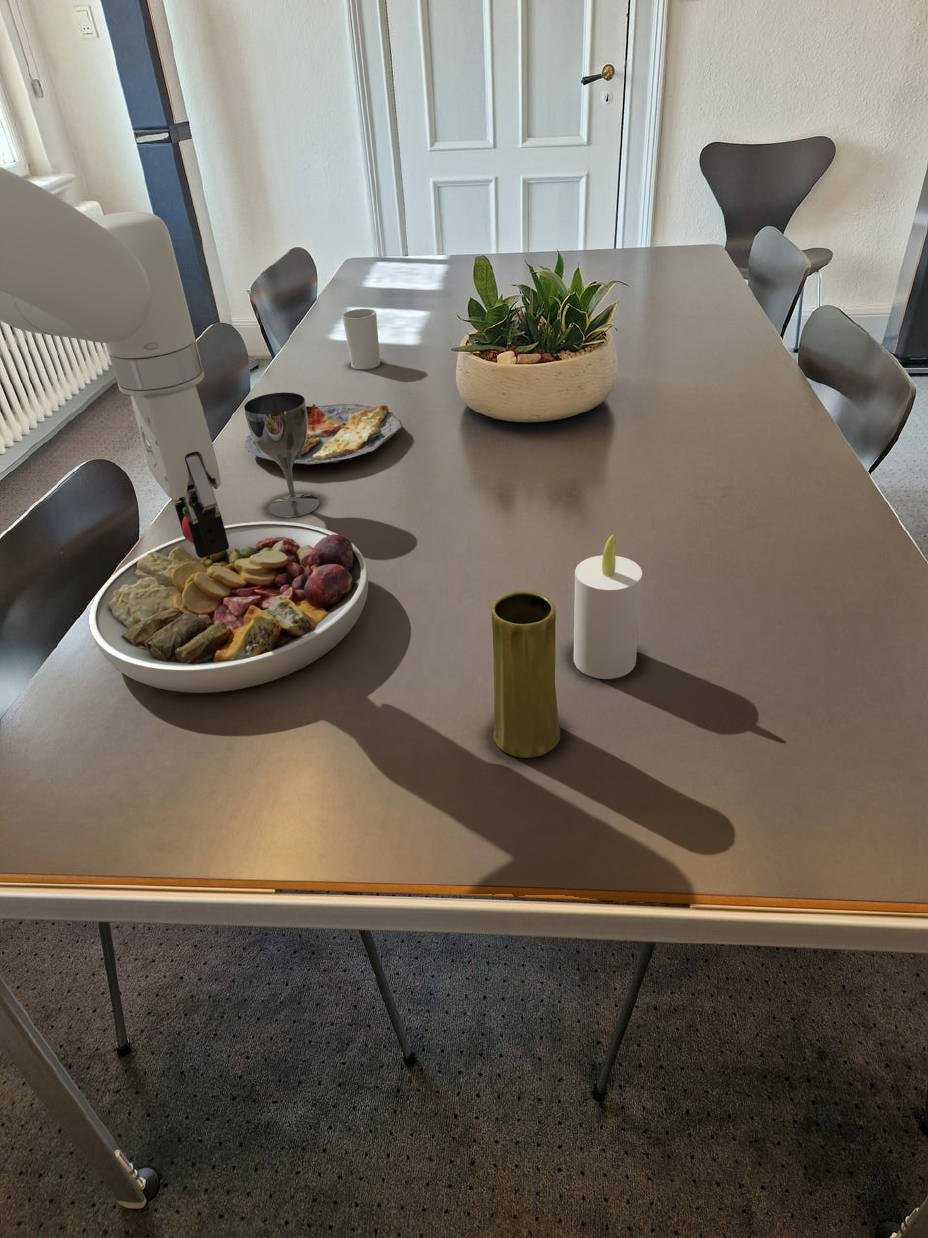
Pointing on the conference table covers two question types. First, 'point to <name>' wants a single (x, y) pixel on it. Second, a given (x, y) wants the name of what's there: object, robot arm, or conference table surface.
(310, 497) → the wine glass
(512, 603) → the vase
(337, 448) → the food plate
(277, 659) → the bowl
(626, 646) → the candle
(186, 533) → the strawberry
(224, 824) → the conference table surface
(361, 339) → the white cup
